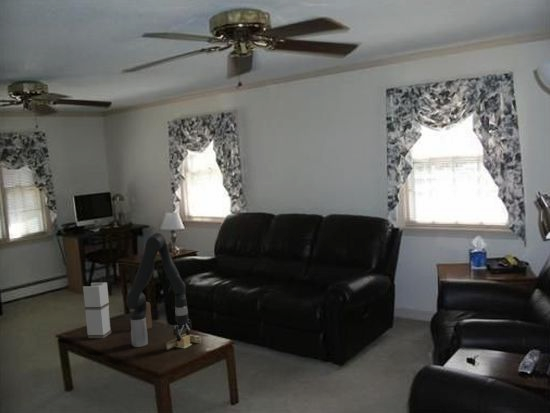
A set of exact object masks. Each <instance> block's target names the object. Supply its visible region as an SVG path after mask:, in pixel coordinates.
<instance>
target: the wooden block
mask: <svg viewBox="0 0 550 413" xmlns="http://www.w3.org/2000/svg"><path fill="white" fill-rule="evenodd" d="M151 309H152V308H151V303H150V302H149V301H146V326H147V330H150V329H152V328H153V322H152V321H153V320H152V312H151V311H152V310H151Z"/></svg>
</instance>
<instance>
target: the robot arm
mask: <svg viewBox="0 0 550 413" xmlns="http://www.w3.org/2000/svg"><path fill="white" fill-rule="evenodd" d="M143 251H144V252H143V256H142V258H141V261H140V263H139V266H138V269H137V271H136V275H135V278H134V280H133V283H132V286H131V288H130V290H129V292H128V294H127V296H126V300H125V301H126V302H125V304H126V306H127V308H128V309H130V310H132V312H131V313H130V317H129V318H130V327H131V330H130V339H131V346H132V347H134V348H141V347H145V346H147V345H148V344H149V341H148V339H149V338H148V329H147V326H146V302H147V299H146V295H145V294H144V292H143V290H145V288H146V286H147V285H148V284H149V282H150V281H151V279H152V277H153V274H154V270H155V260H156V257H157V255H158V253H159V256H160V259H161V264H162V268H163V270H164V273H165V274H166V277H167V278H168V280H169V282H170V284H171V287H172V288H173V289H172V290H173V291H174V306H175V307H174V308H175V309H174V310H175V322H176V325H173V336H176V338H177V341H179V342H180V341H181V338H180V336H181V335H182V332H183V331H184V330H185V334H186V335H189V336H190V335H191V333H190V332H191V331H190V330H191V329H192V327H193V326H192V319H189V310H188V300H187V297H186V292H187V291H186V283H185V281H183V280H182V277H181V275H180V272H179V270H178V268H177V266H176V265H175V262H174V261H173V258H172V255H171V253H170V250H169V247H168V244H167V241H166V238H165V236H164V235H163V234H161V233H160V232H156V233H154V234H152V235H151V236H149V237H148V238H147V240H146V242H145V247H144V250H143Z"/></svg>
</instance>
